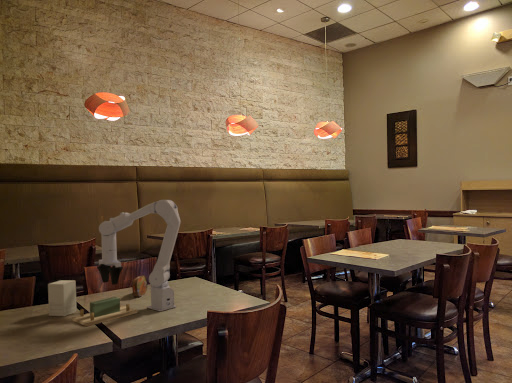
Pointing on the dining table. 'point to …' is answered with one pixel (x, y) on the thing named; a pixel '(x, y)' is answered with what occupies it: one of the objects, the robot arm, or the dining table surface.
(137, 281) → the tin
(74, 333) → the dining table surface
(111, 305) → the board block
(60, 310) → the supplement box
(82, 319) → the base plate
